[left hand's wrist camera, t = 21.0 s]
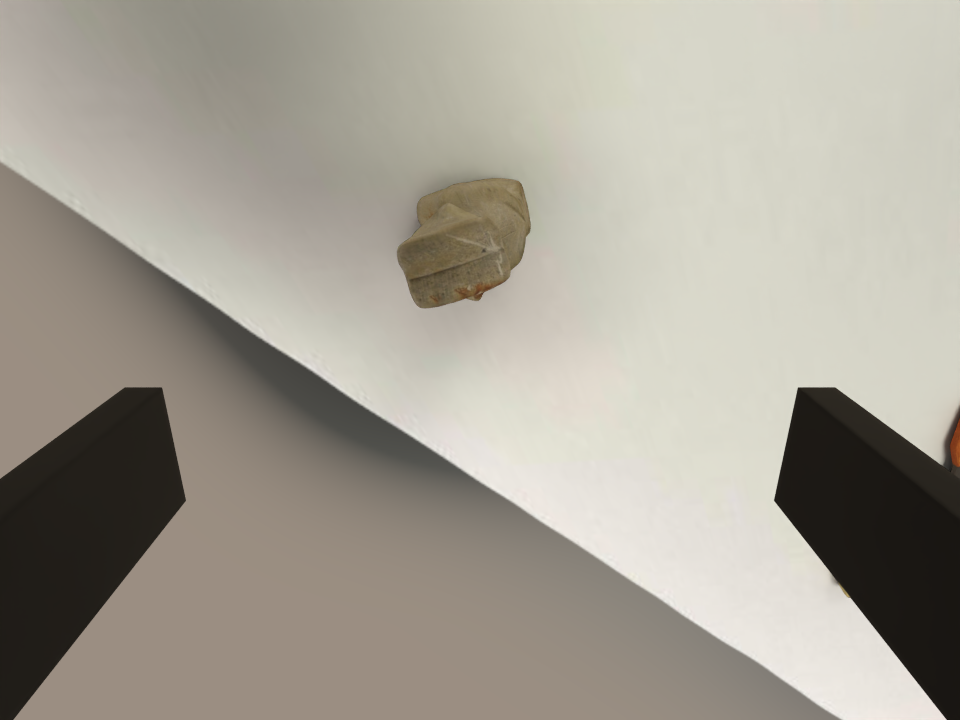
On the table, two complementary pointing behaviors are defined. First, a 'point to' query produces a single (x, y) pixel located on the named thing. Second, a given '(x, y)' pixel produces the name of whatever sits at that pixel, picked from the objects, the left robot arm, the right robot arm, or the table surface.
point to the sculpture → (465, 241)
